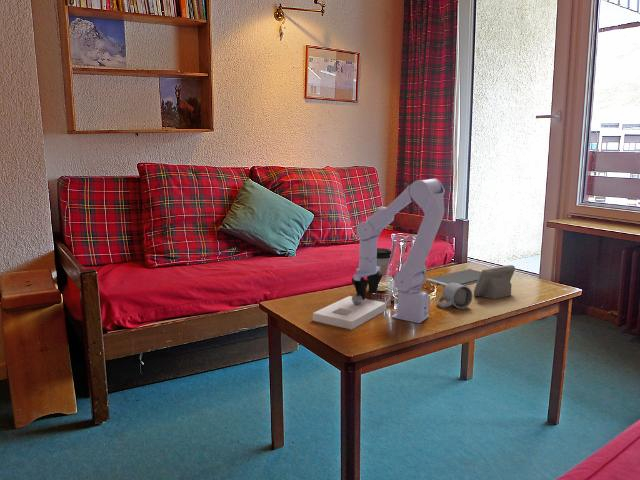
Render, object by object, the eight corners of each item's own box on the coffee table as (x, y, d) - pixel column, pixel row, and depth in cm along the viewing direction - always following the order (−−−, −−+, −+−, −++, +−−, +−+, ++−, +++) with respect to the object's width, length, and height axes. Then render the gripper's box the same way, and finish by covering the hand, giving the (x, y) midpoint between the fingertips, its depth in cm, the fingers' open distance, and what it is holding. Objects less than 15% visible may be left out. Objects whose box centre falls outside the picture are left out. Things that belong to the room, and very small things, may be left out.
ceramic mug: (458, 300, 189) (459, 279, 187) (472, 307, 181) (473, 285, 180) (432, 304, 185) (432, 282, 184) (445, 311, 178) (445, 288, 176)
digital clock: (504, 289, 202) (506, 262, 200) (520, 296, 194) (523, 267, 192) (467, 293, 197) (469, 265, 195) (482, 300, 189) (484, 271, 187)
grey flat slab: (425, 282, 214) (425, 278, 214) (469, 272, 229) (469, 268, 229) (451, 290, 203) (451, 286, 203) (496, 279, 219) (496, 274, 219)
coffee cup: (391, 294, 196) (392, 253, 193) (365, 292, 198) (366, 252, 195) (392, 287, 205) (394, 248, 202) (368, 285, 207) (368, 247, 204)
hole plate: (385, 310, 178) (386, 302, 177) (351, 329, 160) (352, 321, 159) (349, 302, 185) (349, 295, 185) (313, 320, 168) (313, 312, 167)
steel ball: (364, 304, 176) (364, 293, 175) (359, 306, 173) (359, 296, 172) (355, 302, 178) (355, 292, 177) (349, 305, 175) (349, 294, 174)
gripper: (368, 252, 186) (367, 289, 189) (346, 259, 174) (345, 300, 177) (386, 254, 182) (385, 293, 185) (365, 262, 171) (364, 303, 173)
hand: (367, 296), depth 181 cm, fingers open, 7 cm apart
